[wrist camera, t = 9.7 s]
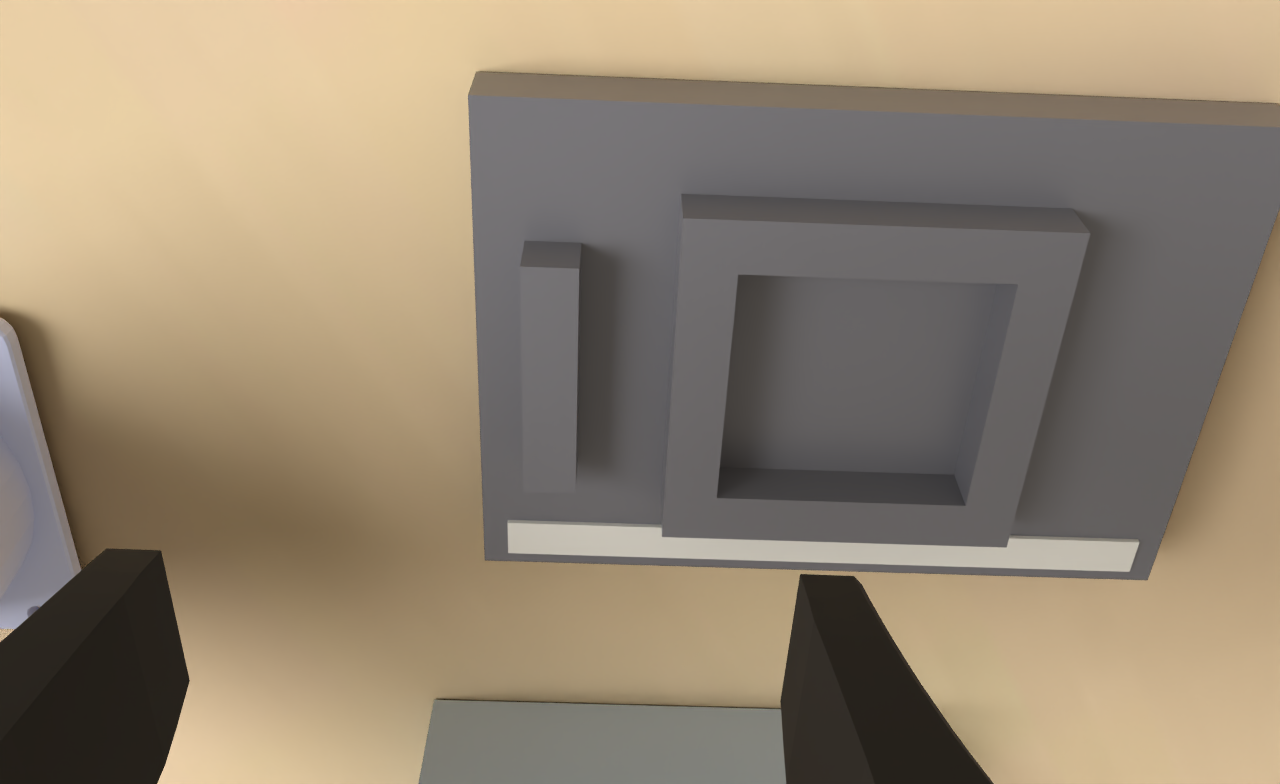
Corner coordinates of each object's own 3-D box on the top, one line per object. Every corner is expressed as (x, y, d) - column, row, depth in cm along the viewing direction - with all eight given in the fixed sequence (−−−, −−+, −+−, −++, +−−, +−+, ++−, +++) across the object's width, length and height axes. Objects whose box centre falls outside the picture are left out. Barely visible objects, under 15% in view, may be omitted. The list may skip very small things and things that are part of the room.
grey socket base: (490, 523, 26) (479, 593, 25) (475, 71, 21) (460, 116, 19) (1128, 543, 27) (1164, 613, 25) (1276, 104, 21) (1336, 150, 19)
